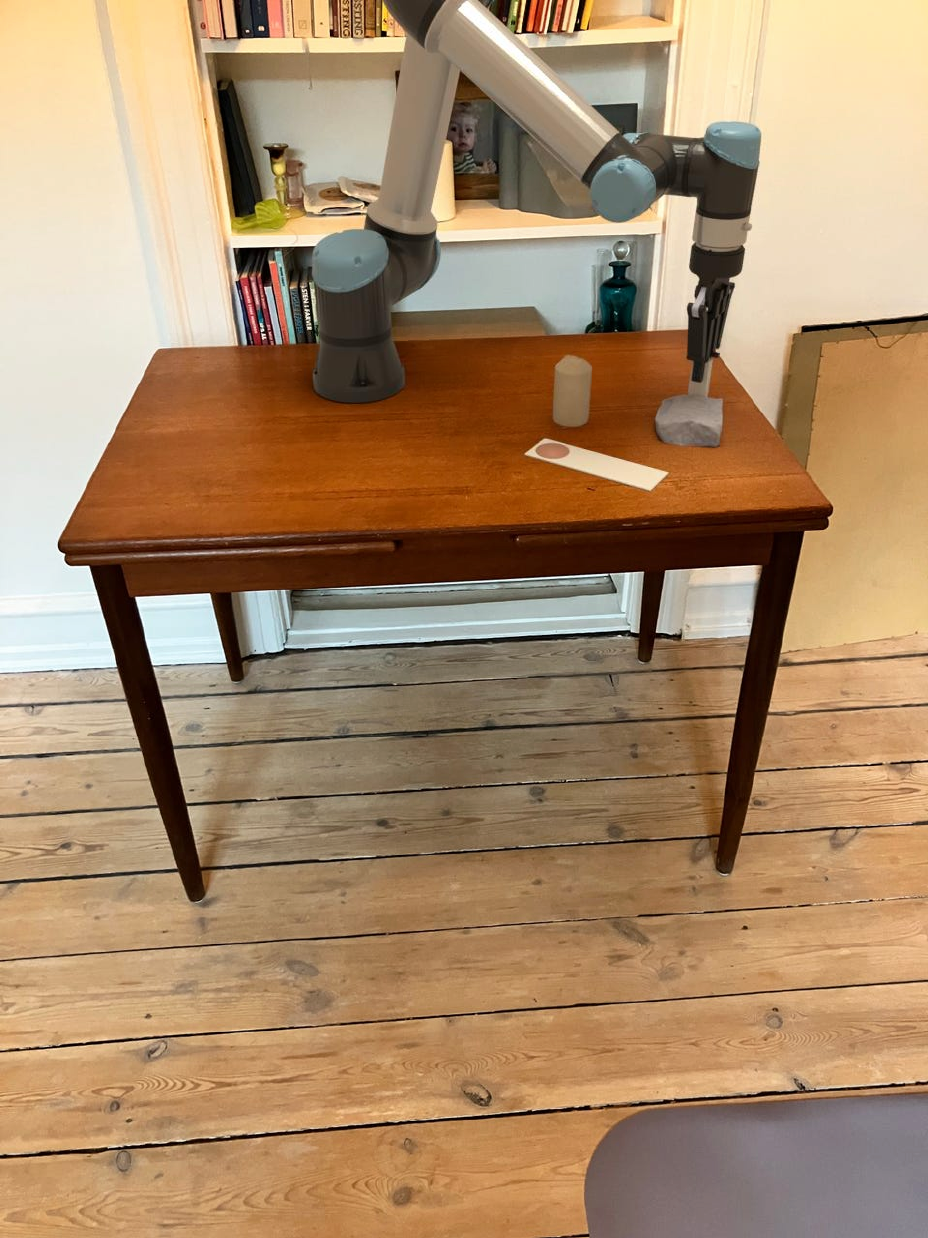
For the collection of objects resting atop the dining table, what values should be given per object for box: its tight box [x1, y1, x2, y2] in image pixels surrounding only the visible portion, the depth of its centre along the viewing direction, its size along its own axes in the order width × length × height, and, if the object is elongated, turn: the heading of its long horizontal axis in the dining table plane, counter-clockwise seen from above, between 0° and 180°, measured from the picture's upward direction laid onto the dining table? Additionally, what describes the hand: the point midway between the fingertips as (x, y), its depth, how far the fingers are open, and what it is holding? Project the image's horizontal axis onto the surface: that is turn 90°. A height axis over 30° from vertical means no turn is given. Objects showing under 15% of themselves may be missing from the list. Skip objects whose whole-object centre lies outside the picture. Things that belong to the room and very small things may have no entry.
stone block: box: [654, 393, 724, 448], centre depth 151 cm, size 12×5×10 cm
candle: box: [552, 354, 593, 428], centre depth 152 cm, size 6×6×10 cm
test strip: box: [524, 438, 670, 492], centre depth 143 cm, size 20×6×1 cm, turn 57°
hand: (697, 398), depth 156 cm, fingers closed
